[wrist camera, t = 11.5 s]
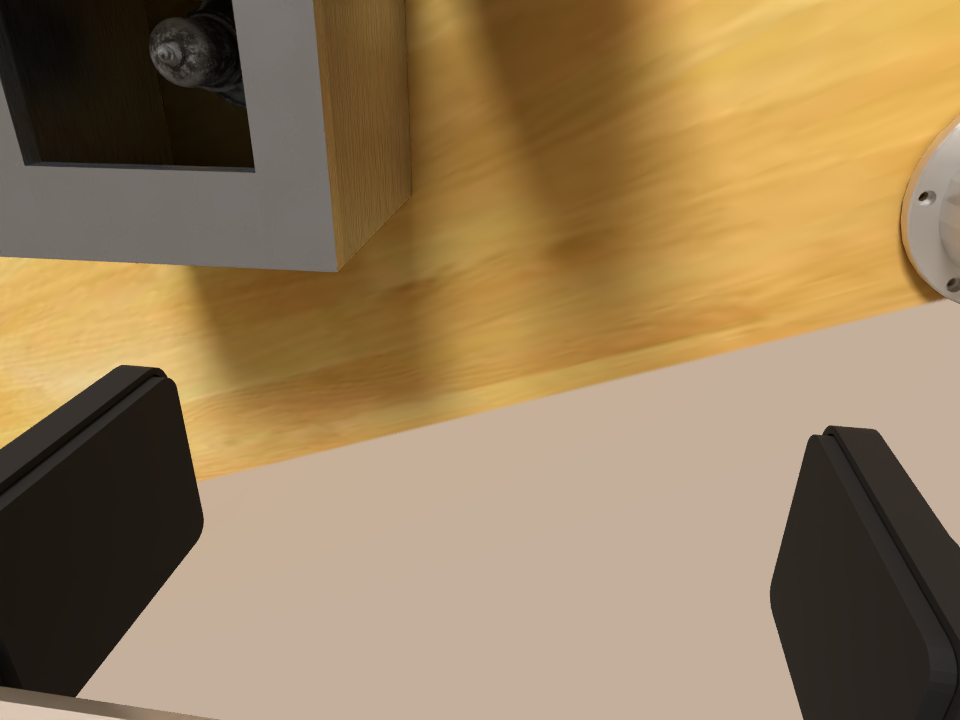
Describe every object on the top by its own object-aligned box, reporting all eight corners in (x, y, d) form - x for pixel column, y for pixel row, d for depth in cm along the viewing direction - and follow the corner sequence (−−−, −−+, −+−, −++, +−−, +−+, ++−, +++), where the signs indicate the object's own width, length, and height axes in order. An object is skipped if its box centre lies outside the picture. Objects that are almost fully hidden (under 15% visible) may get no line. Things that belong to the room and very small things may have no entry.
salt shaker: (292, 124, 41) (196, 157, 30) (204, 63, 40) (72, 74, 29) (340, 32, 38) (253, 32, 28) (246, -35, 37) (120, -62, 27)
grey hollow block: (399, -125, 35) (293, -211, 22) (412, 194, 42) (337, 272, 29) (103, -118, 37) (-157, -196, 24) (163, 186, 44) (-12, 255, 31)
